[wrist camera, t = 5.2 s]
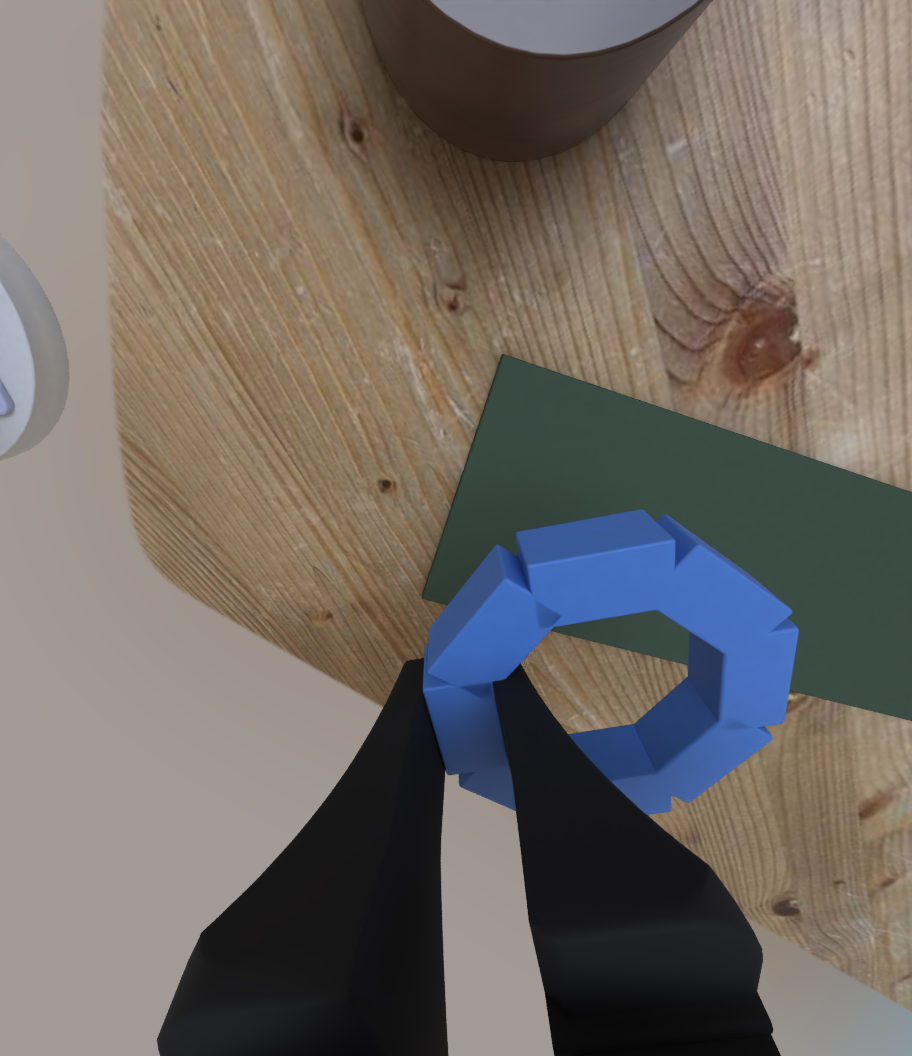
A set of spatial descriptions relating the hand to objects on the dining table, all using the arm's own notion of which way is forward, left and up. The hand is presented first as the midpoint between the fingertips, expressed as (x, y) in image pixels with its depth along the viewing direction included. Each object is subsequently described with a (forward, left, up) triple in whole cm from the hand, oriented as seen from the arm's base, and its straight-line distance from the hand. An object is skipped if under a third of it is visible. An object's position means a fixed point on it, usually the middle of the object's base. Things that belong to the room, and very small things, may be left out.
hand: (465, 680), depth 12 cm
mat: (+18, -7, -10) cm, 22 cm away
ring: (+3, 0, 0) cm, 3 cm away
